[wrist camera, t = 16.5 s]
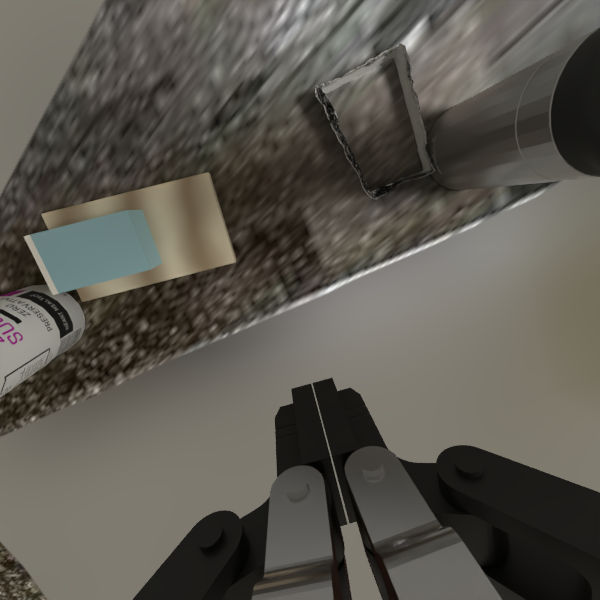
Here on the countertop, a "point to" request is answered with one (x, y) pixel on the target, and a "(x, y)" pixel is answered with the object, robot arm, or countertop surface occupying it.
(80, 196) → the countertop surface
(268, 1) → the countertop surface
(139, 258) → the block
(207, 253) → the board
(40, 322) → the supplement can
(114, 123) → the countertop surface
